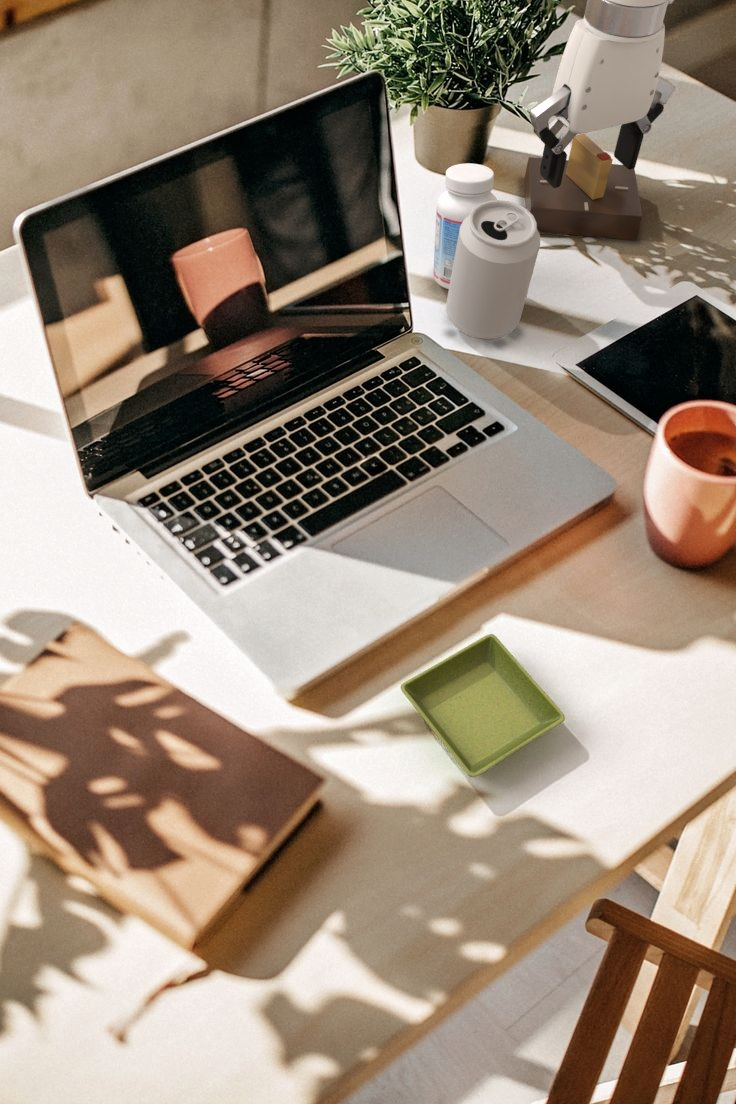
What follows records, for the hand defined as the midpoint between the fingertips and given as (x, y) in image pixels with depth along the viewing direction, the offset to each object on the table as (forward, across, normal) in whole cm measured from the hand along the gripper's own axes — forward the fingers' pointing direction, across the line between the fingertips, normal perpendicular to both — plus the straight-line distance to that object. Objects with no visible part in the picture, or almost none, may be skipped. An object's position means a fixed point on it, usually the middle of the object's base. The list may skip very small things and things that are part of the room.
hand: (587, 171), depth 113 cm
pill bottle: (+4, +19, +7) cm, 20 cm away
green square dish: (+5, +42, +52) cm, 67 cm away
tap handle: (+2, 0, 0) cm, 2 cm away
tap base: (+5, 0, 0) cm, 5 cm away
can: (+4, +20, +13) cm, 24 cm away
